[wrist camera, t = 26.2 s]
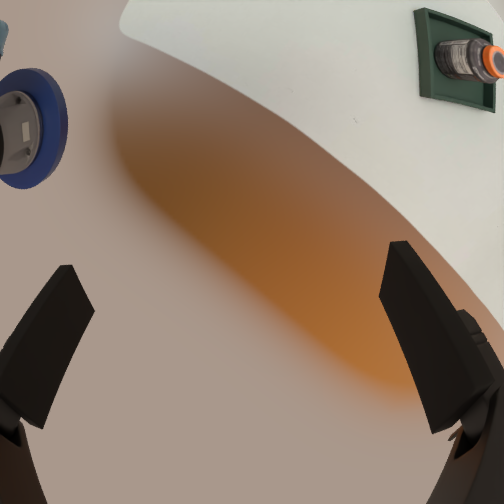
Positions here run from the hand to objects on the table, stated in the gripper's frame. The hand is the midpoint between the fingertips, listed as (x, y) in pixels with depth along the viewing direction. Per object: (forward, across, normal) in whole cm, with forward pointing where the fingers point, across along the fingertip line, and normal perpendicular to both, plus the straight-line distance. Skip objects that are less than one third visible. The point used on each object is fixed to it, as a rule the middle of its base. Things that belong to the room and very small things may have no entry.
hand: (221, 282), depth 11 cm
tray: (+28, +31, +13) cm, 44 cm away
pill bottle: (+28, +30, +13) cm, 43 cm away
